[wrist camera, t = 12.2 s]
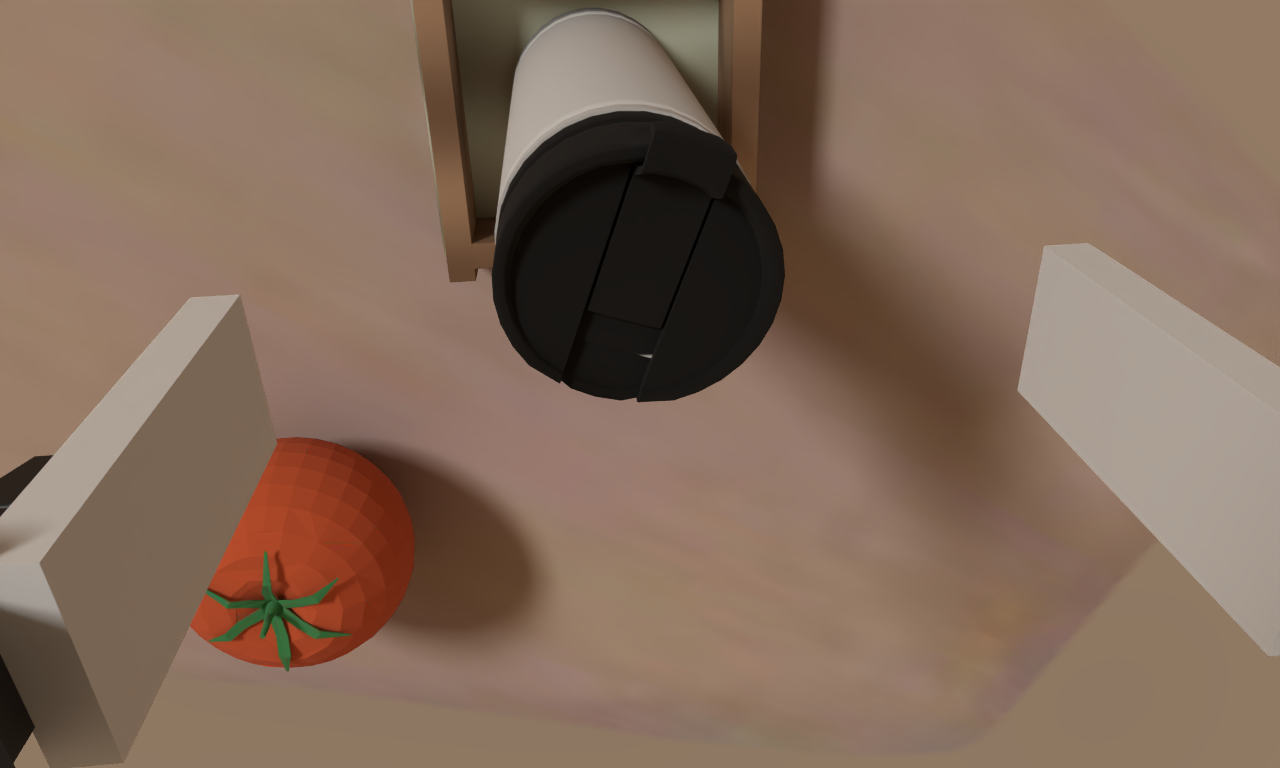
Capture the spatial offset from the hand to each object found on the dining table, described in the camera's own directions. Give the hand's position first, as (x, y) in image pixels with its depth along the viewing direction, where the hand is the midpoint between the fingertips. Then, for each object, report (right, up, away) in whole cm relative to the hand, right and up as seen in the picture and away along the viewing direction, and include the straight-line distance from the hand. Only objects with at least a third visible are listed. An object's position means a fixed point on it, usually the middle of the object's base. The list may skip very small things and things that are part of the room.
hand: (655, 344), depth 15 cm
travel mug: (-2, +11, +21) cm, 24 cm away
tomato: (-16, -6, +29) cm, 34 cm away
